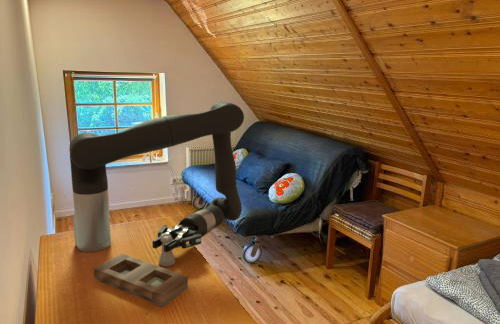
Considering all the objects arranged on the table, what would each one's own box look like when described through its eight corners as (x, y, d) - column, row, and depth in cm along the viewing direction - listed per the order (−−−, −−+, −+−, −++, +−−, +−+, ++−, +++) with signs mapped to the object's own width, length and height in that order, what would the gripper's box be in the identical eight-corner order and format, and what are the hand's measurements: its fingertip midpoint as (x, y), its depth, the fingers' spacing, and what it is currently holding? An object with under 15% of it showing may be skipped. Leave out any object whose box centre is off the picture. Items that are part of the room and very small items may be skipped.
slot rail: (94, 279, 91) (93, 268, 90) (122, 263, 99) (121, 253, 98) (163, 307, 81) (162, 295, 80) (187, 287, 89) (187, 276, 88)
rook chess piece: (171, 268, 97) (170, 240, 95) (155, 266, 98) (154, 238, 96) (177, 260, 101) (177, 233, 100) (162, 258, 102) (162, 231, 100)
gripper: (179, 208, 113) (138, 227, 98) (217, 218, 107) (180, 240, 92) (179, 231, 115) (139, 253, 100) (217, 241, 108) (180, 267, 93)
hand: (159, 246), depth 96 cm, fingers closed on rook chess piece, 3 cm apart
